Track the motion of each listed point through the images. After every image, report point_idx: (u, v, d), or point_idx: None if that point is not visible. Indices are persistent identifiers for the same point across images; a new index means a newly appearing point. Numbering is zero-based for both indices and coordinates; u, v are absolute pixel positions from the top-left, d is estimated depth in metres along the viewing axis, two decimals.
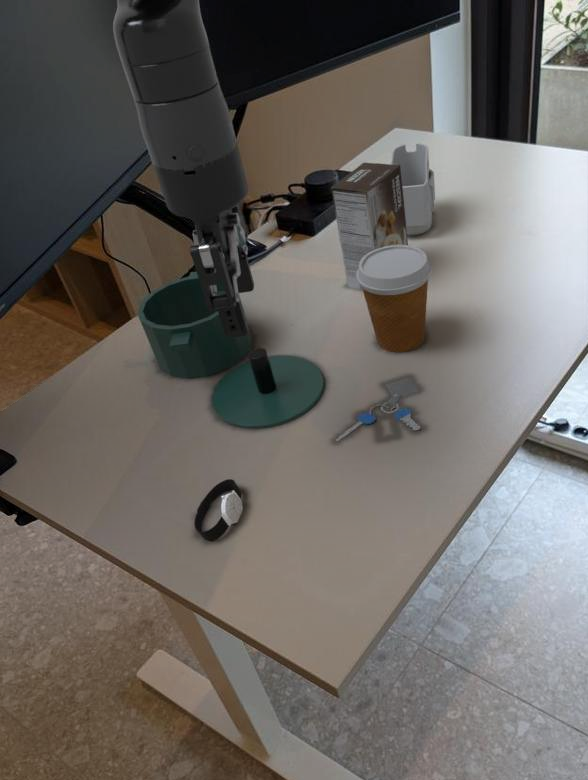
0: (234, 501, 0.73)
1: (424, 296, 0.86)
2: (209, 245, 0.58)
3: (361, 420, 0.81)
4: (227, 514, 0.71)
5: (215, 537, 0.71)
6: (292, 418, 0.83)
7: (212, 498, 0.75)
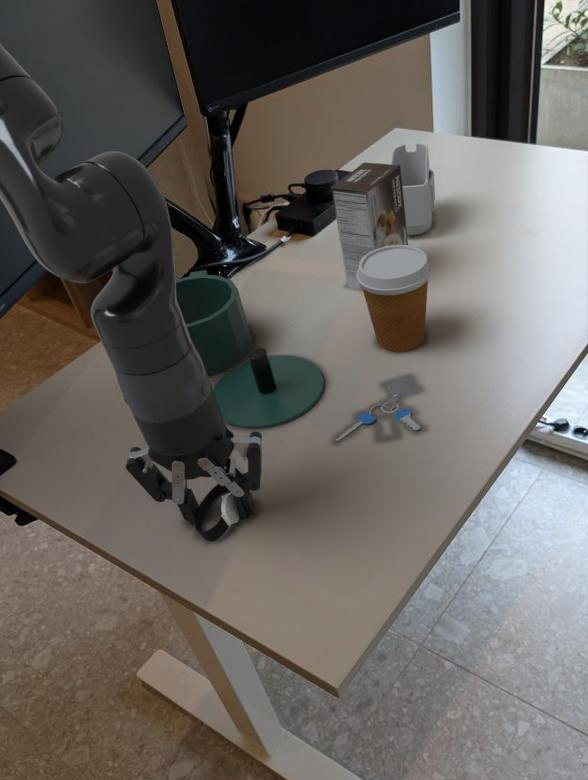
0: None
1: (424, 296, 0.86)
2: (127, 459, 0.67)
3: (361, 420, 0.81)
4: (227, 514, 0.71)
5: (215, 537, 0.71)
6: (292, 418, 0.83)
7: (212, 498, 0.75)
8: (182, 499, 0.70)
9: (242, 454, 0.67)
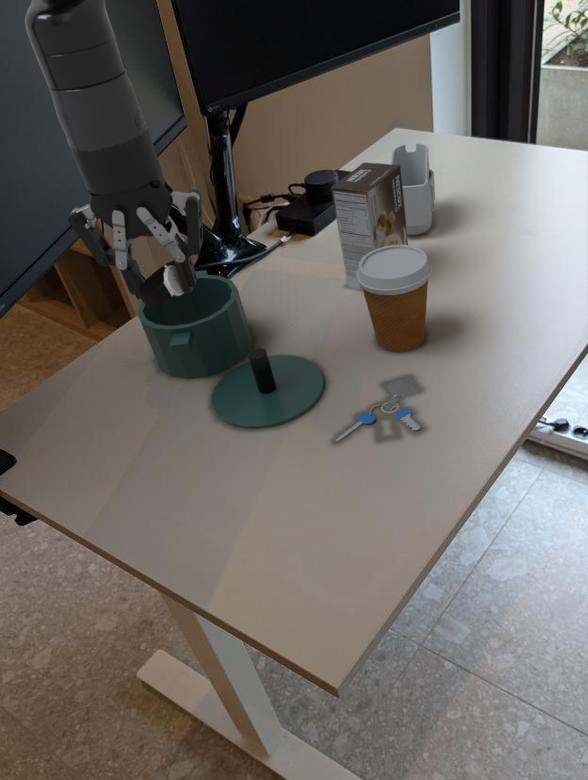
0: (177, 274, 0.75)
1: (424, 296, 0.86)
2: None
3: (361, 420, 0.81)
4: (169, 282, 0.74)
5: (157, 303, 0.73)
6: (292, 418, 0.83)
7: (159, 278, 0.78)
8: (125, 263, 0.73)
9: (181, 210, 0.69)
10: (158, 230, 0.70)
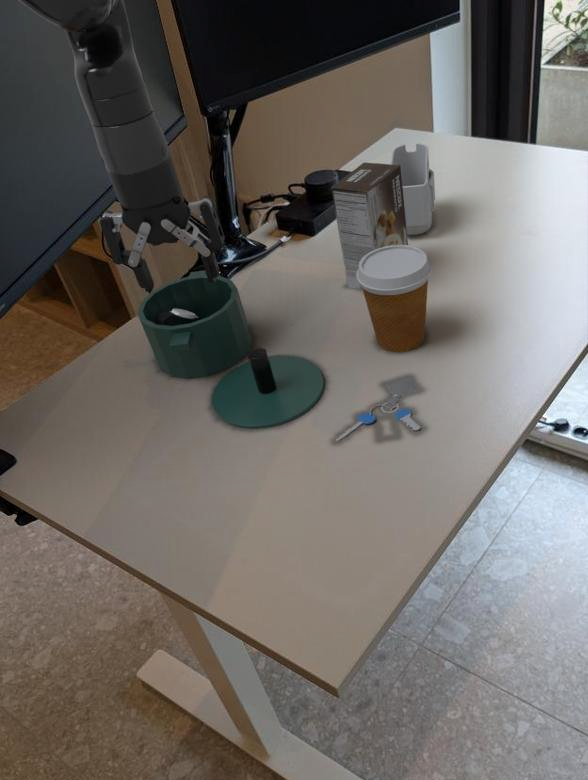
0: (186, 311, 0.97)
1: (424, 296, 0.86)
2: (102, 216, 0.83)
3: (361, 420, 0.81)
4: (174, 310, 0.96)
5: (163, 319, 0.94)
6: (292, 418, 0.83)
7: None
8: (136, 262, 0.86)
9: (199, 216, 0.83)
10: (178, 238, 0.84)
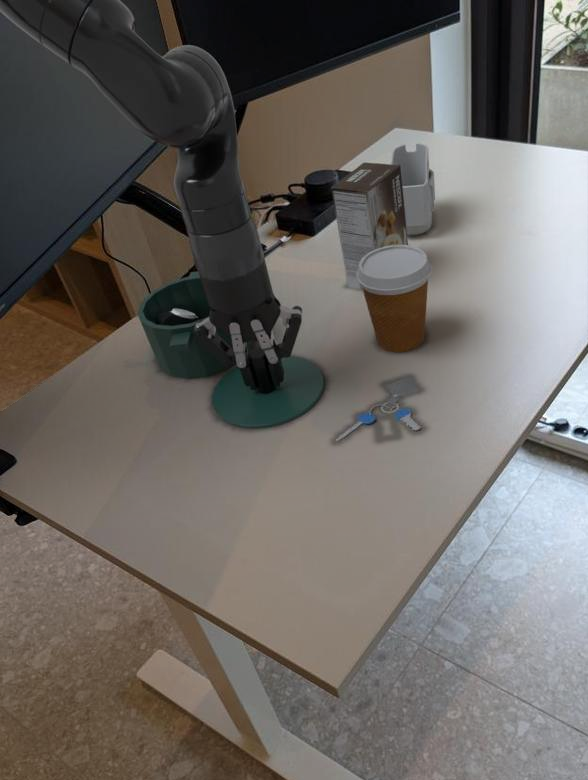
0: (186, 311, 0.97)
1: (424, 296, 0.86)
2: (194, 329, 0.81)
3: (361, 420, 0.81)
4: (174, 310, 0.96)
5: (163, 319, 0.94)
6: (292, 418, 0.83)
7: None
8: (245, 363, 0.84)
9: (284, 322, 0.81)
10: (267, 336, 0.81)
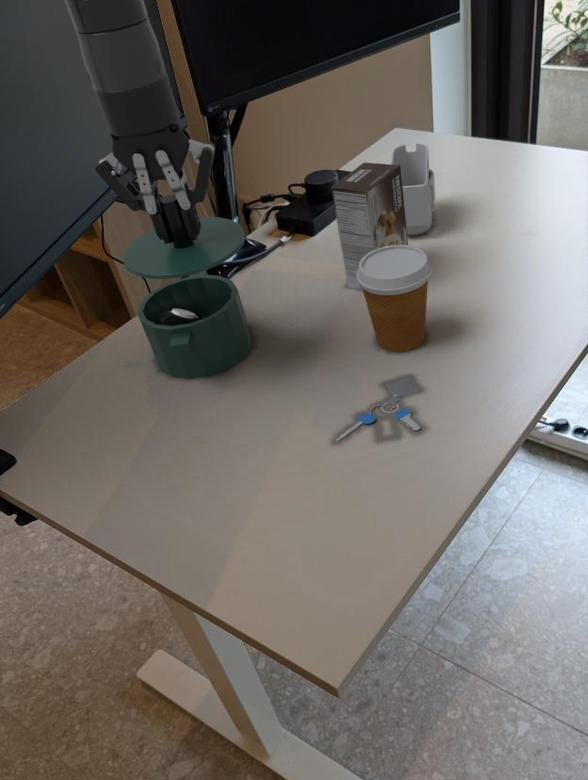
0: (186, 311, 0.97)
1: (424, 296, 0.86)
2: (97, 164, 0.74)
3: (361, 420, 0.81)
4: (174, 310, 0.96)
5: (163, 319, 0.94)
6: (205, 268, 0.77)
7: None
8: (155, 208, 0.77)
9: (194, 158, 0.74)
10: (175, 173, 0.74)
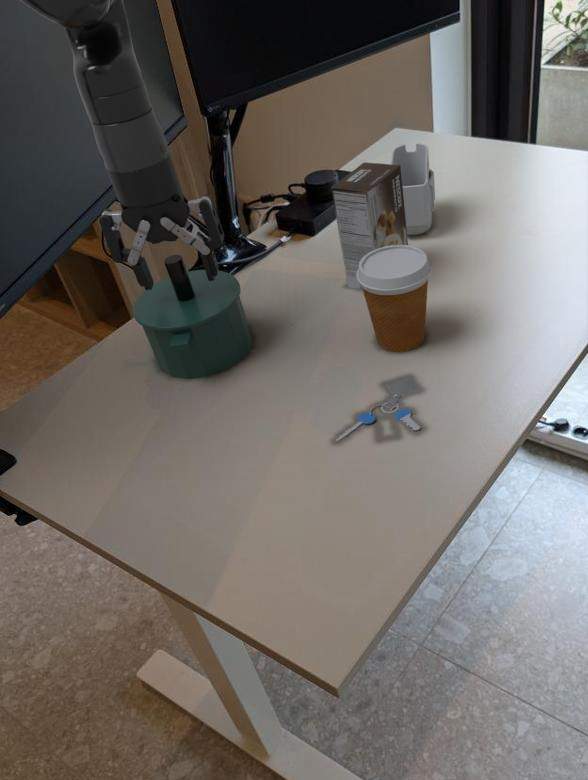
0: None
1: (424, 296, 0.86)
2: (101, 215, 0.83)
3: (361, 420, 0.81)
4: None
5: None
6: (206, 320, 0.87)
7: None
8: (135, 260, 0.86)
9: (198, 214, 0.83)
10: (178, 236, 0.84)
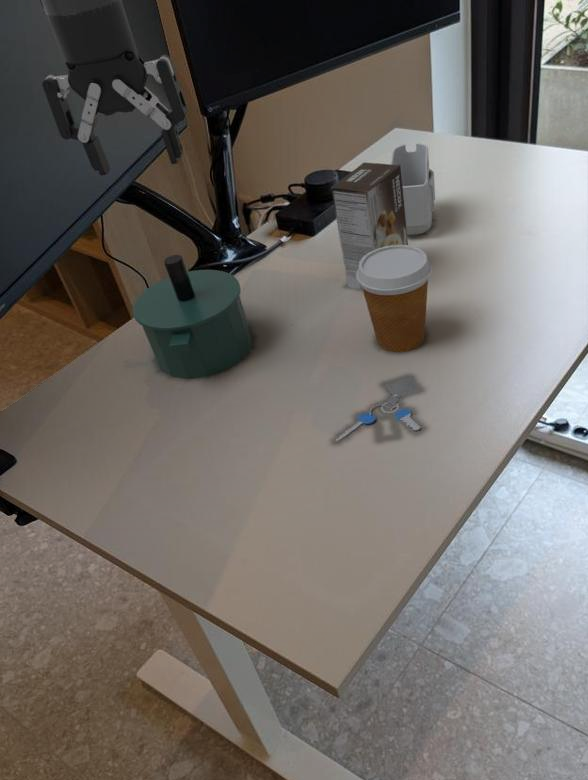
0: None
1: (424, 296, 0.86)
2: None
3: (361, 420, 0.81)
4: None
5: None
6: (206, 320, 0.87)
7: None
8: (87, 136, 0.76)
9: (156, 79, 0.73)
10: (133, 104, 0.73)
